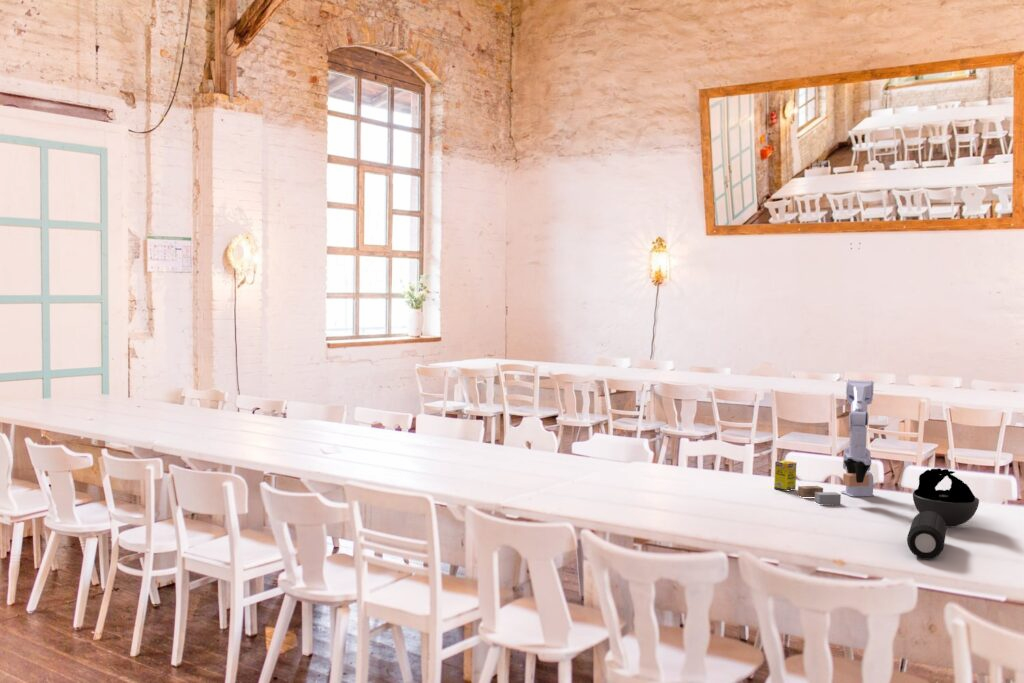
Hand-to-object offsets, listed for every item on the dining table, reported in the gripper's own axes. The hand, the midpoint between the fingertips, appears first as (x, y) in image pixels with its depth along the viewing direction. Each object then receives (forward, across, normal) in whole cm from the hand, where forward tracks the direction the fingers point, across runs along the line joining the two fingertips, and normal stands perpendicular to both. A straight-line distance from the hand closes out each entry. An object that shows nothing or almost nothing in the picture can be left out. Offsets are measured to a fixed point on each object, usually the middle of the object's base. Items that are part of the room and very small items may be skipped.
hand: (856, 481), depth 340 cm
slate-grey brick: (+9, -2, -10) cm, 14 cm away
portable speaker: (+9, +59, -14) cm, 61 cm away
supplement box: (+9, -26, -14) cm, 31 cm away
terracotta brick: (+2, 0, 0) cm, 2 cm away
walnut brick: (+9, -12, -11) cm, 19 cm away
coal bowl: (+9, +34, +11) cm, 37 cm away
